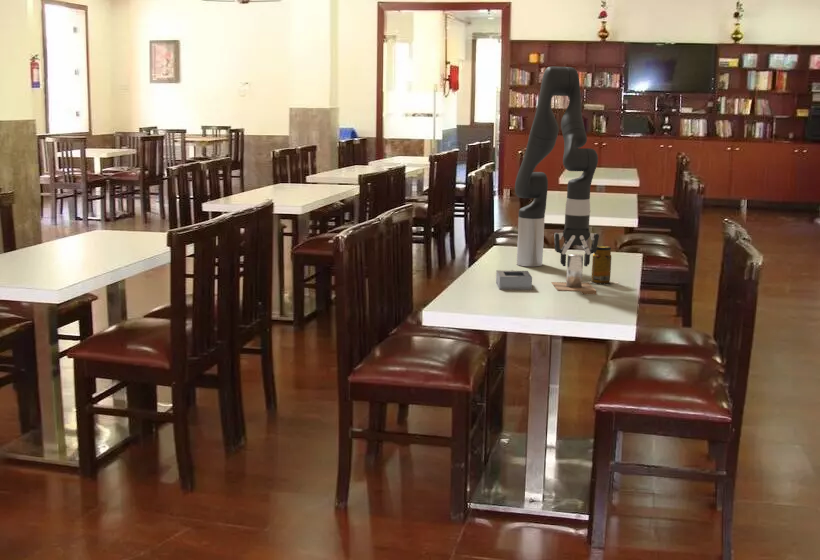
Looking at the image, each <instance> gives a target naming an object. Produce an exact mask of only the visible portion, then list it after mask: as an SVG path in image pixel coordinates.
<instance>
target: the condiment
mask: <svg viewBox="0 0 820 560" xmlns="http://www.w3.org/2000/svg"><path fill="white" fill-rule="evenodd" d="M611 253H612V247H611V246H609V245H597V250H596V252H595V253H592V262H591V263H592V266H591V280H590V281H587V283H589V284H595V285H604V286H614V285H617V284H619V283H620V282H619V281H615V280H611V273H612V272H611V271H612V254H611Z"/></svg>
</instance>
